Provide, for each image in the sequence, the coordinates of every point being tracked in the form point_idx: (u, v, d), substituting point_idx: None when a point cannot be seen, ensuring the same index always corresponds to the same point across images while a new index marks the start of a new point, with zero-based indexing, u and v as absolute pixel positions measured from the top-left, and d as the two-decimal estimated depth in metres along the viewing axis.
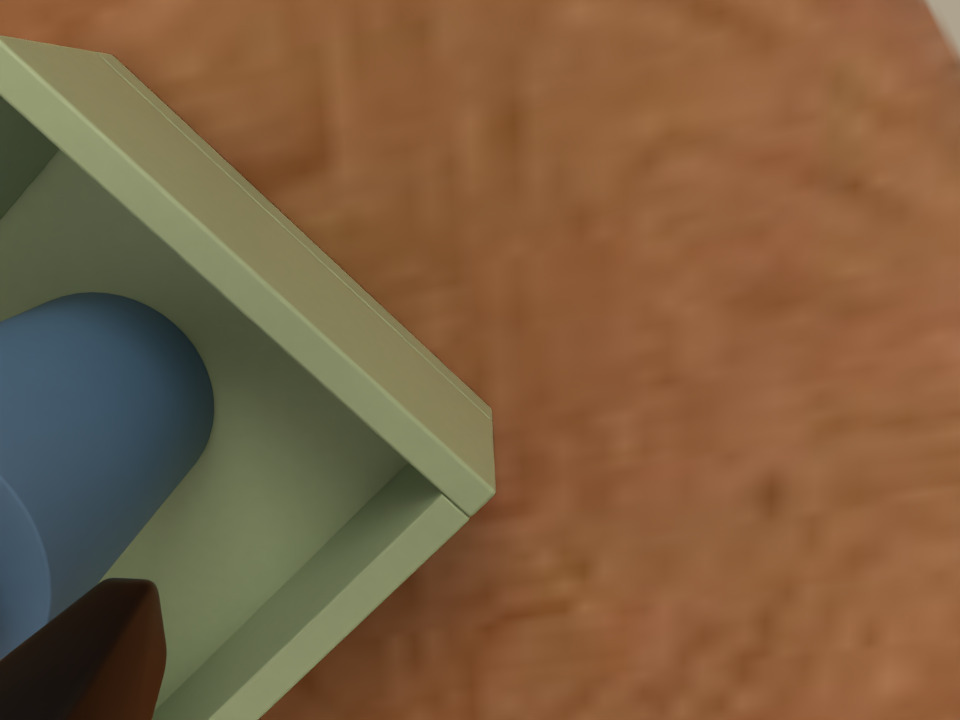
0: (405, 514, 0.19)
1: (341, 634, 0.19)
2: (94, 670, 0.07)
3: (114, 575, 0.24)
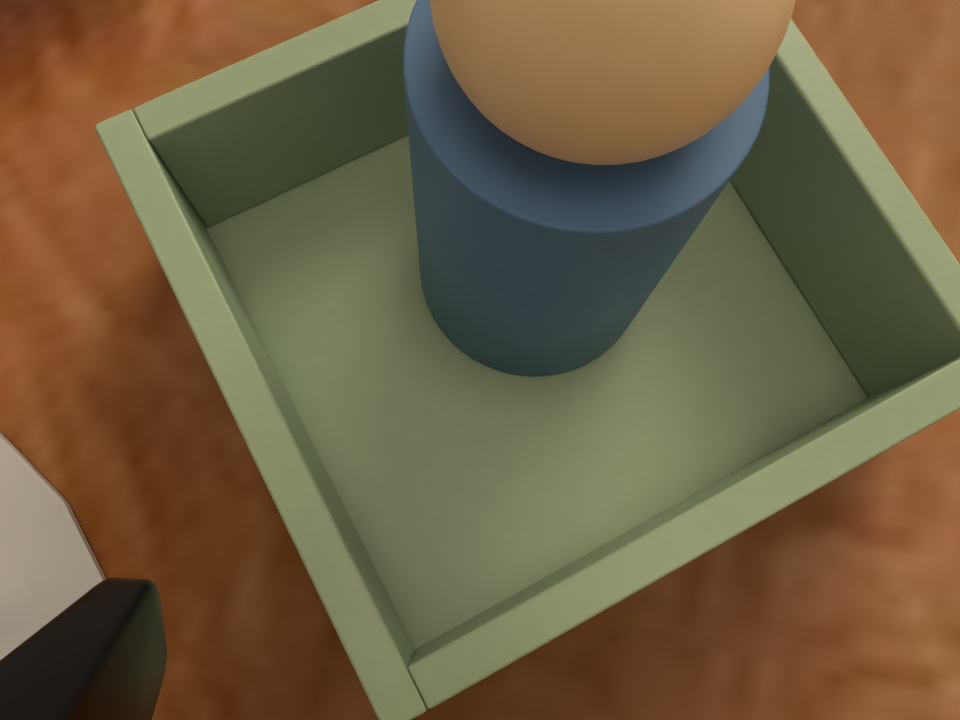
0: (902, 388, 0.18)
1: (829, 474, 0.17)
2: (94, 670, 0.07)
3: (461, 453, 0.21)
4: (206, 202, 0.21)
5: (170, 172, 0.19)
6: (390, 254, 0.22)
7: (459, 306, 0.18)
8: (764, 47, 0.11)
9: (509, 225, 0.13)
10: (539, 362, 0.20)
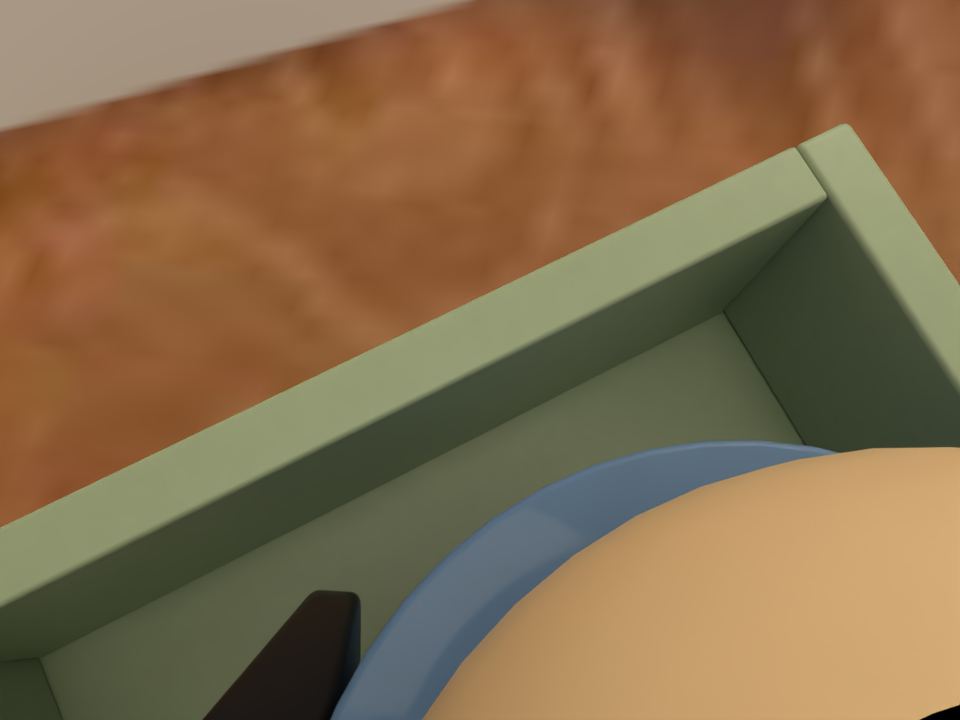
0: None
1: None
2: (335, 684, 0.07)
3: None
4: (25, 651, 0.12)
5: None
6: None
7: None
8: None
9: None
10: None
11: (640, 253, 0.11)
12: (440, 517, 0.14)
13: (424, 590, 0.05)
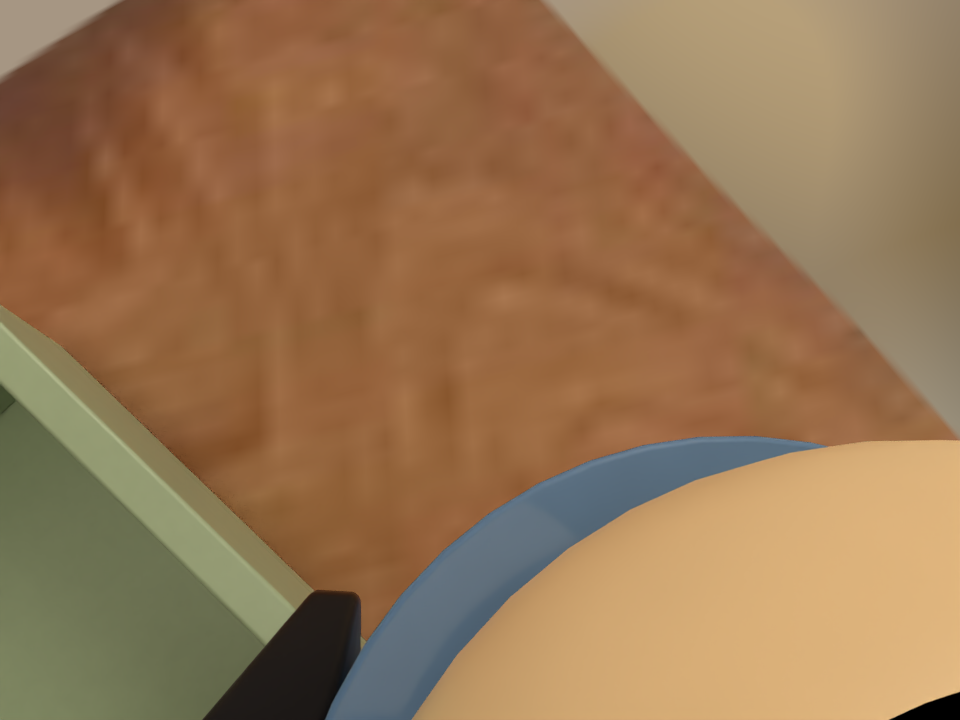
0: None
1: None
2: (336, 684, 0.07)
3: None
4: None
5: None
6: None
7: None
8: None
9: None
10: None
11: None
12: None
13: (421, 585, 0.05)
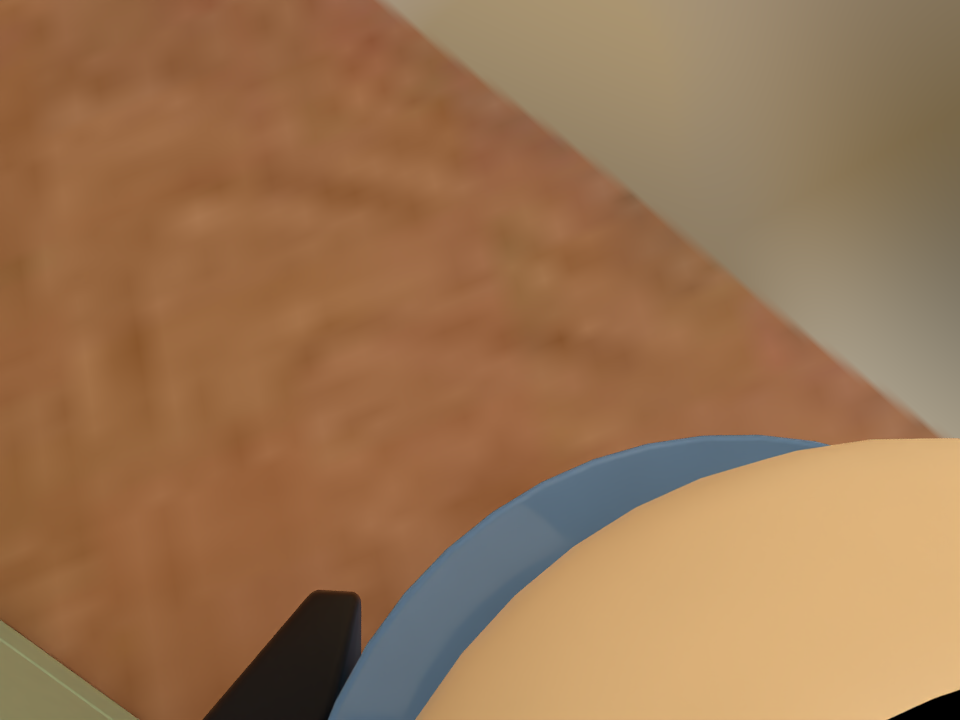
0: None
1: None
2: (336, 684, 0.07)
3: None
4: None
5: None
6: None
7: None
8: None
9: None
10: None
11: None
12: None
13: (425, 584, 0.05)
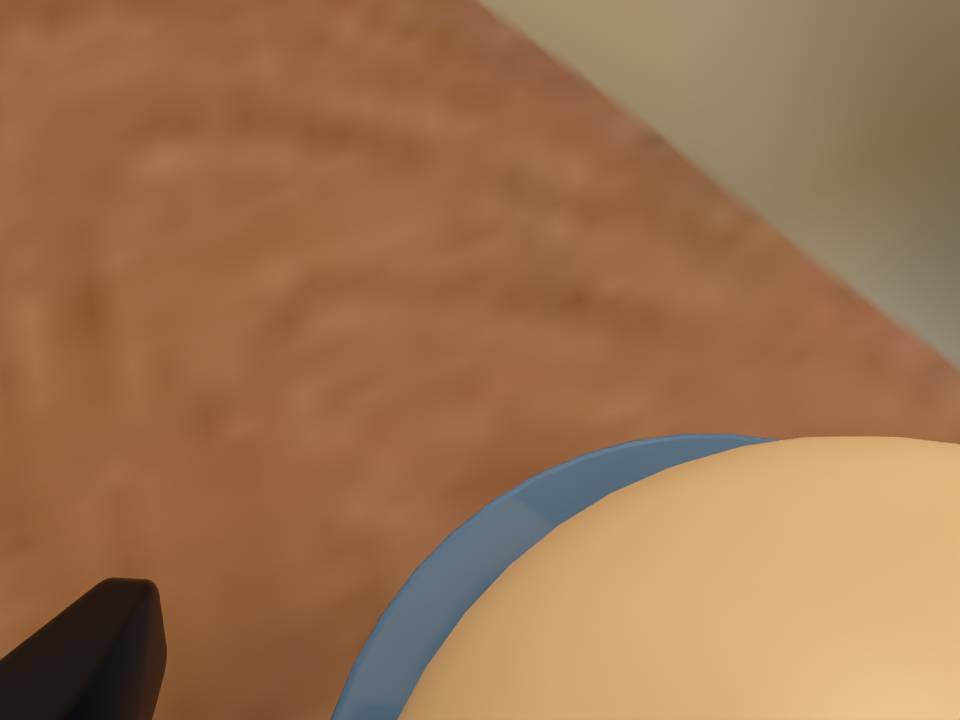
0: None
1: None
2: (94, 669, 0.07)
3: None
4: None
5: None
6: None
7: None
8: None
9: None
10: None
11: None
12: None
13: (431, 563, 0.06)
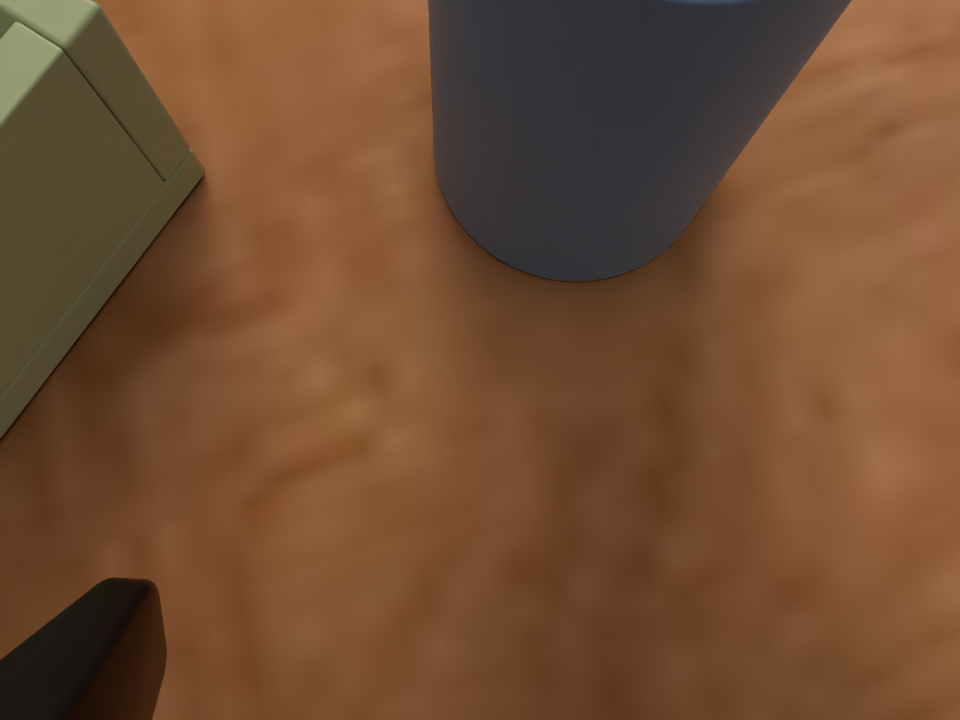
0: None
1: None
2: (94, 670, 0.07)
3: None
4: None
5: None
6: None
7: (485, 175, 0.14)
8: None
9: None
10: (583, 258, 0.16)
11: None
12: None
13: None
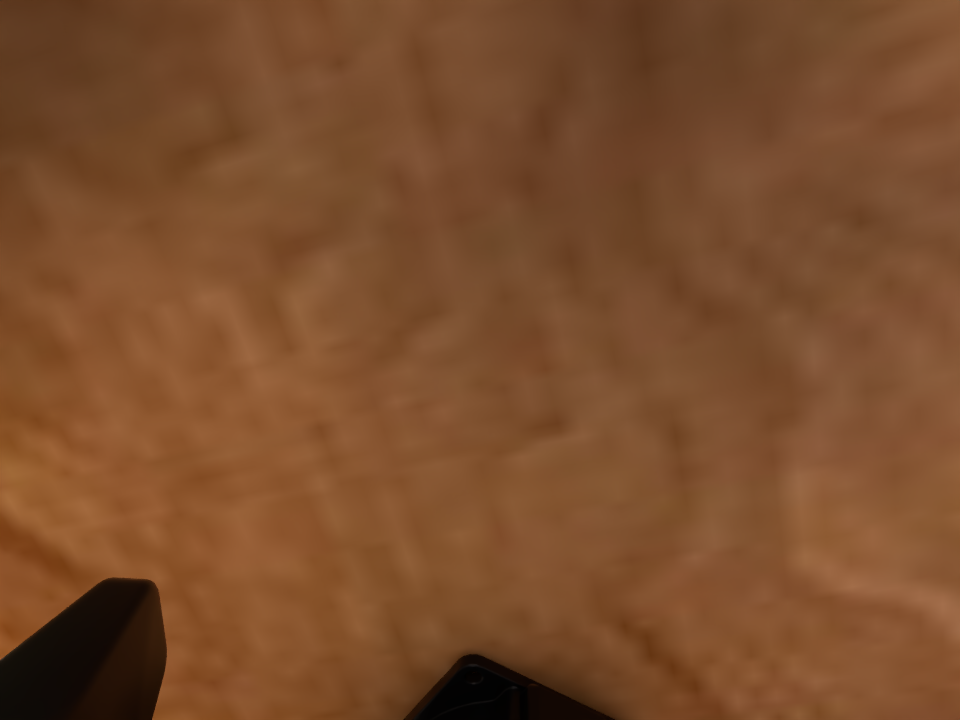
0: None
1: None
2: (94, 670, 0.07)
3: None
4: None
5: None
6: None
7: None
8: None
9: None
10: None
11: None
12: None
13: None
